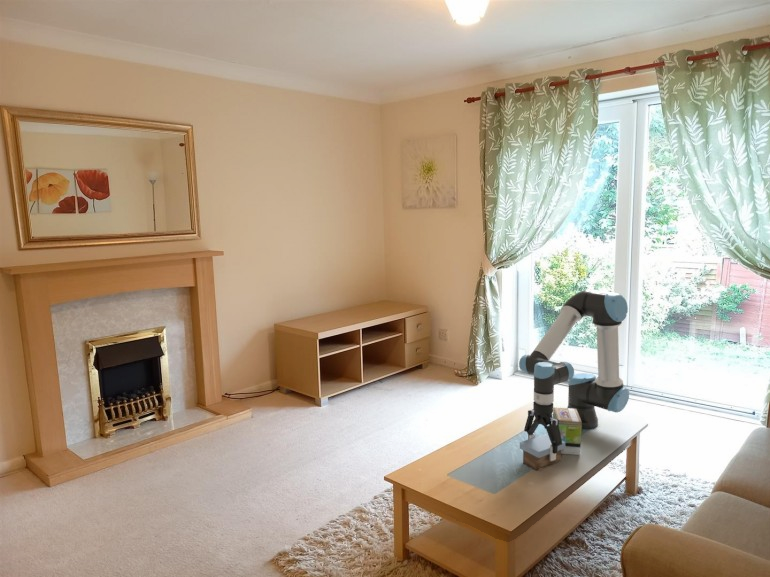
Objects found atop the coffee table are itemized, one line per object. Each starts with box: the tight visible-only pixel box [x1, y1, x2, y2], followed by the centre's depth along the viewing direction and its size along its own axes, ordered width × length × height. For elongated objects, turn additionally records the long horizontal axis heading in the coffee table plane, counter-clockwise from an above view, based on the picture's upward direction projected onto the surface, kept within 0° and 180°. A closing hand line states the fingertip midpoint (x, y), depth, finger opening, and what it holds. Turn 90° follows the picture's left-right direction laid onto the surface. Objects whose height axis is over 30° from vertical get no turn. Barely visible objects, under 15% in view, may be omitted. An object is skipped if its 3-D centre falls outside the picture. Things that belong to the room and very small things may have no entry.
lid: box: [519, 432, 565, 458], centre depth 211 cm, size 15×10×3 cm, turn 122°
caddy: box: [522, 450, 562, 471], centre depth 211 cm, size 14×7×6 cm, turn 122°
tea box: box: [552, 406, 583, 456], centre depth 224 cm, size 15×10×15 cm
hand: (542, 454), depth 211 cm, fingers closed on lid, 10 cm apart
